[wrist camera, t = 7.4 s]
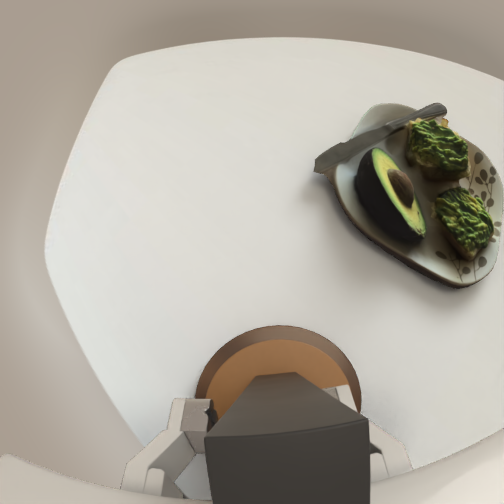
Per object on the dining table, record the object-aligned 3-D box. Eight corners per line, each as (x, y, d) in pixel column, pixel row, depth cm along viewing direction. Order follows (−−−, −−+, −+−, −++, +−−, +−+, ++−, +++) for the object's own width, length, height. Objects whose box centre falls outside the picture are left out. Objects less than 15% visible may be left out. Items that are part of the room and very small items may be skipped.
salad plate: (372, 81, 28) (381, 51, 24) (502, 161, 24) (521, 138, 19) (292, 203, 23) (295, 169, 19) (473, 314, 19) (507, 303, 15)
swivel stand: (278, 499, 16) (278, 505, 15) (167, 401, 19) (162, 402, 18) (387, 394, 18) (392, 395, 17) (276, 294, 21) (276, 291, 20)
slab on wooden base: (351, 458, 15) (474, 590, 1) (215, 472, 16) (118, 627, 1) (340, 331, 18) (502, 254, 4) (202, 346, 19) (31, 305, 4)
